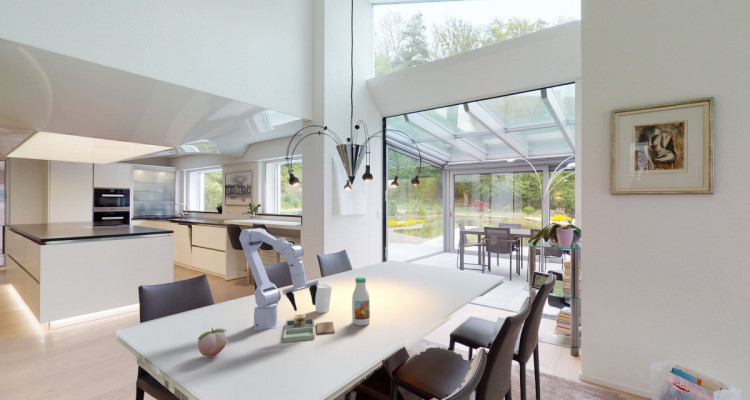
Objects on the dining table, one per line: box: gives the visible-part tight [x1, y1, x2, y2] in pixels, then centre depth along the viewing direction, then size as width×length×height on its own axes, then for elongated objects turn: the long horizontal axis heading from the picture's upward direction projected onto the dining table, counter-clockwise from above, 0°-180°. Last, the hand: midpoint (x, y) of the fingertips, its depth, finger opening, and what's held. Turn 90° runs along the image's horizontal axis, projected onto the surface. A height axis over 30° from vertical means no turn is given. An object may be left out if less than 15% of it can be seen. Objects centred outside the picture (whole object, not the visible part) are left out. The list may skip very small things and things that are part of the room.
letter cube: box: [293, 313, 306, 327], centre depth 137 cm, size 4×5×4 cm
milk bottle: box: [351, 276, 371, 327], centre depth 141 cm, size 8×8×20 cm
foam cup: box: [314, 282, 333, 314], centre depth 157 cm, size 10×9×13 cm
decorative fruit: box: [197, 327, 228, 358], centre depth 111 cm, size 9×8×10 cm
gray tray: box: [284, 317, 315, 330], centre depth 137 cm, size 12×9×2 cm
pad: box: [316, 321, 336, 336], centre depth 134 cm, size 7×11×1 cm, turn 12°
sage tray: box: [282, 326, 316, 343], centre depth 127 cm, size 12×9×2 cm
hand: (305, 307), depth 129 cm, fingers open, 7 cm apart
